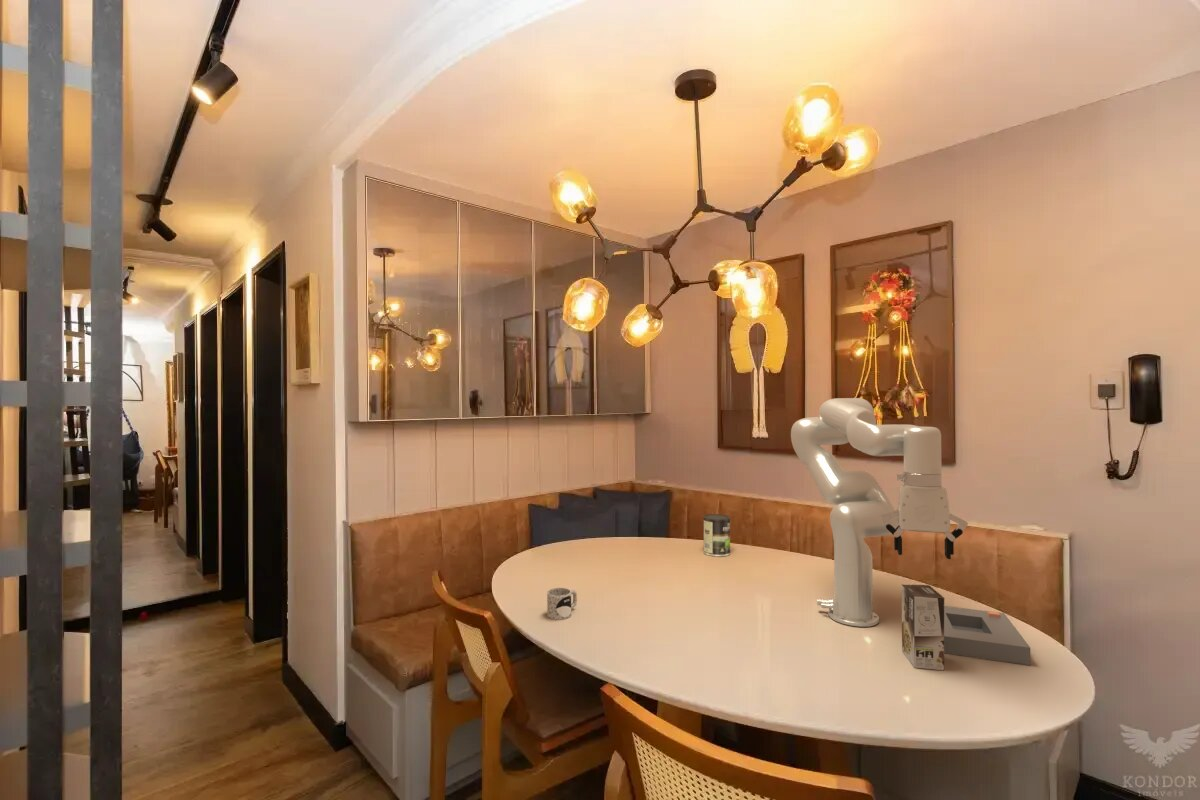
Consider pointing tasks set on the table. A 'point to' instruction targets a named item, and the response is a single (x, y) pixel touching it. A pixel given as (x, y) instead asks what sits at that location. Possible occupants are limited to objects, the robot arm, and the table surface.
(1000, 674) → the table surface
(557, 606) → the mug
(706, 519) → the coffee can
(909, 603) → the coffee box
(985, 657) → the socket
